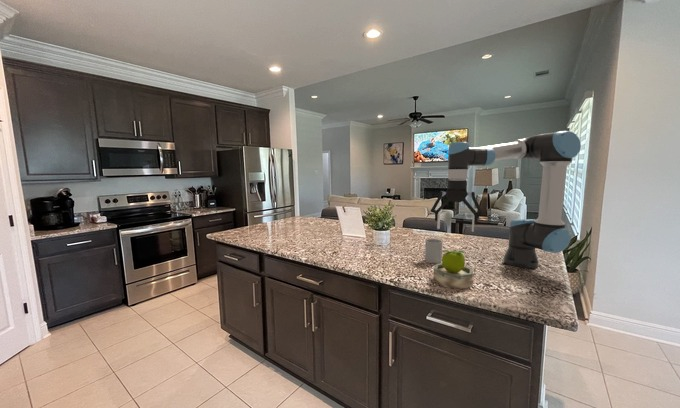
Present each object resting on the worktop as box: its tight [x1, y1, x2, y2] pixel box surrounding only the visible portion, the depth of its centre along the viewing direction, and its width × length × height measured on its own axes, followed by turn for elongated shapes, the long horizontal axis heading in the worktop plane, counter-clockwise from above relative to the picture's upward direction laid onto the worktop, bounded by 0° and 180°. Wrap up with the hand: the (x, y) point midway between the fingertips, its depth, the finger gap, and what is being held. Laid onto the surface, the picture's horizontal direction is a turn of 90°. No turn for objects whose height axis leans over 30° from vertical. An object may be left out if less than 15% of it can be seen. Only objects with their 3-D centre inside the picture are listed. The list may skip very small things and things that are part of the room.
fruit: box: [441, 250, 466, 273], centre depth 123 cm, size 9×9×10 cm
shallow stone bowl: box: [432, 262, 474, 290], centre depth 124 cm, size 16×16×6 cm
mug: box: [424, 238, 443, 264], centre depth 152 cm, size 12×8×11 cm
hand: (455, 229), depth 121 cm, fingers open, 13 cm apart
